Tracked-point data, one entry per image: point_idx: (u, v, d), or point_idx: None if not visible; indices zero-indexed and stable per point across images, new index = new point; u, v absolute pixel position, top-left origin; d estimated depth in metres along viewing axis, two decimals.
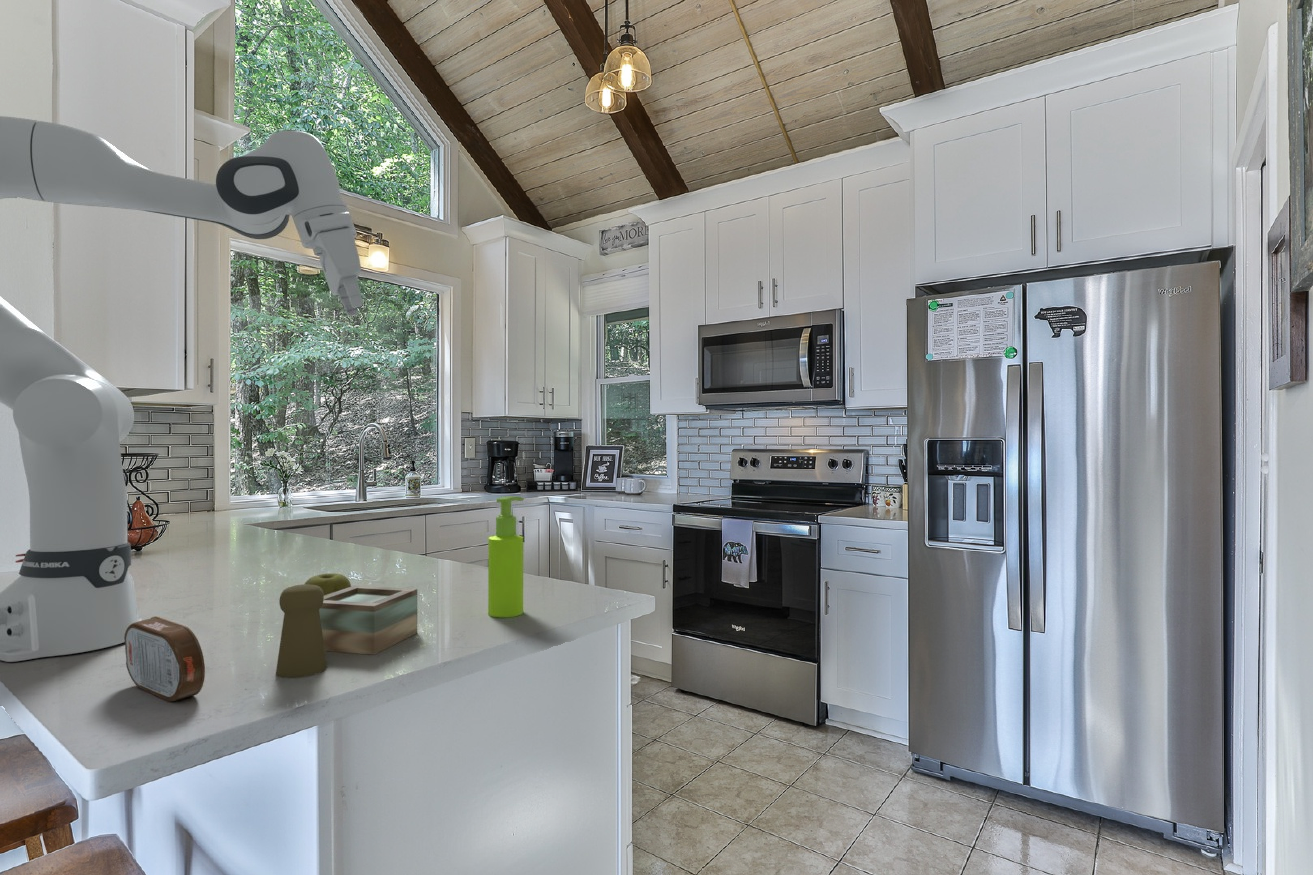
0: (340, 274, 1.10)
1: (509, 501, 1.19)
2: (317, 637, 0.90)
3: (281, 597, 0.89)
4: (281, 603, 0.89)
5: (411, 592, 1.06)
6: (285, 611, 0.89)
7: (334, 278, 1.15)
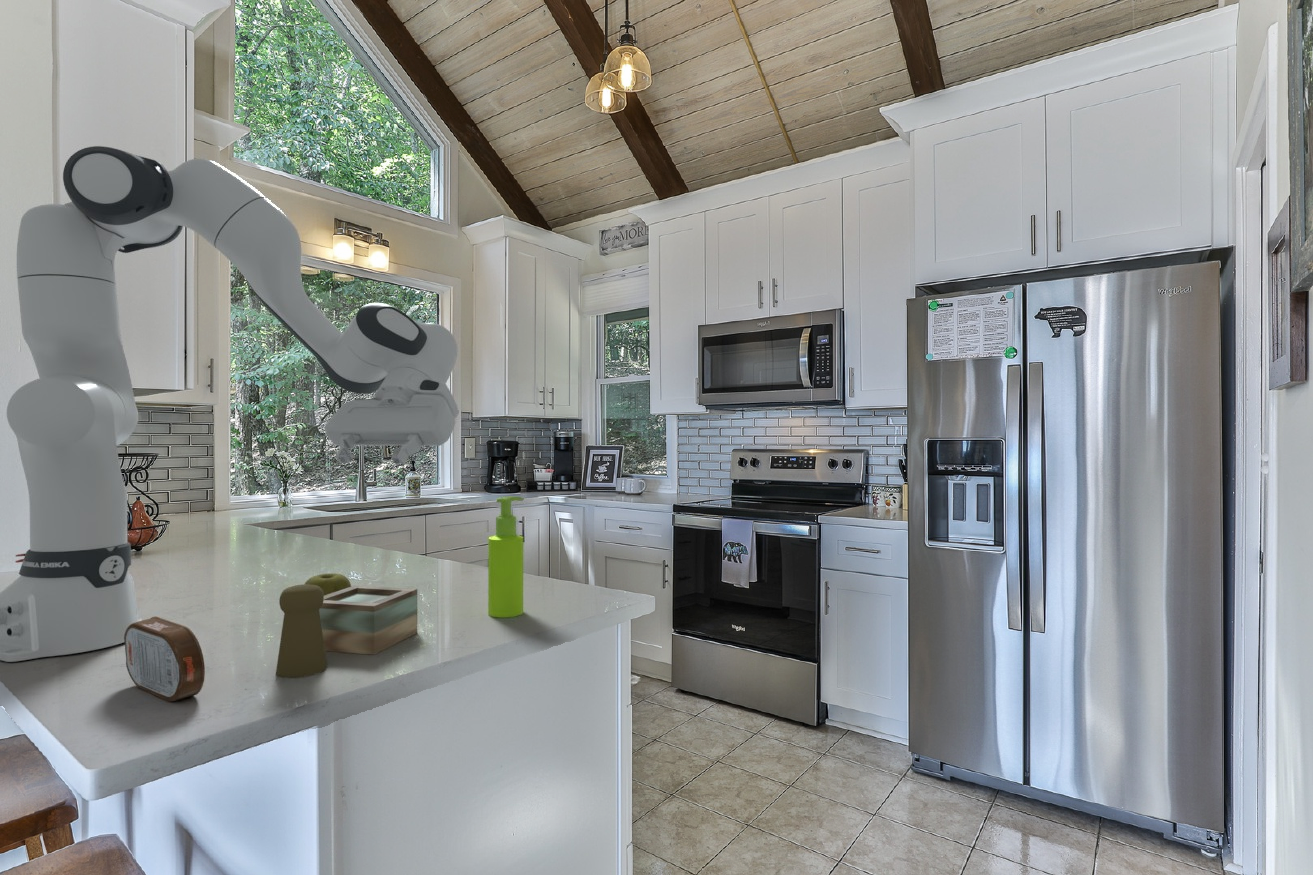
0: (433, 431, 1.05)
1: (509, 501, 1.19)
2: (317, 637, 0.90)
3: (281, 597, 0.89)
4: (281, 603, 0.89)
5: (411, 592, 1.06)
6: (285, 611, 0.89)
7: (397, 426, 1.06)
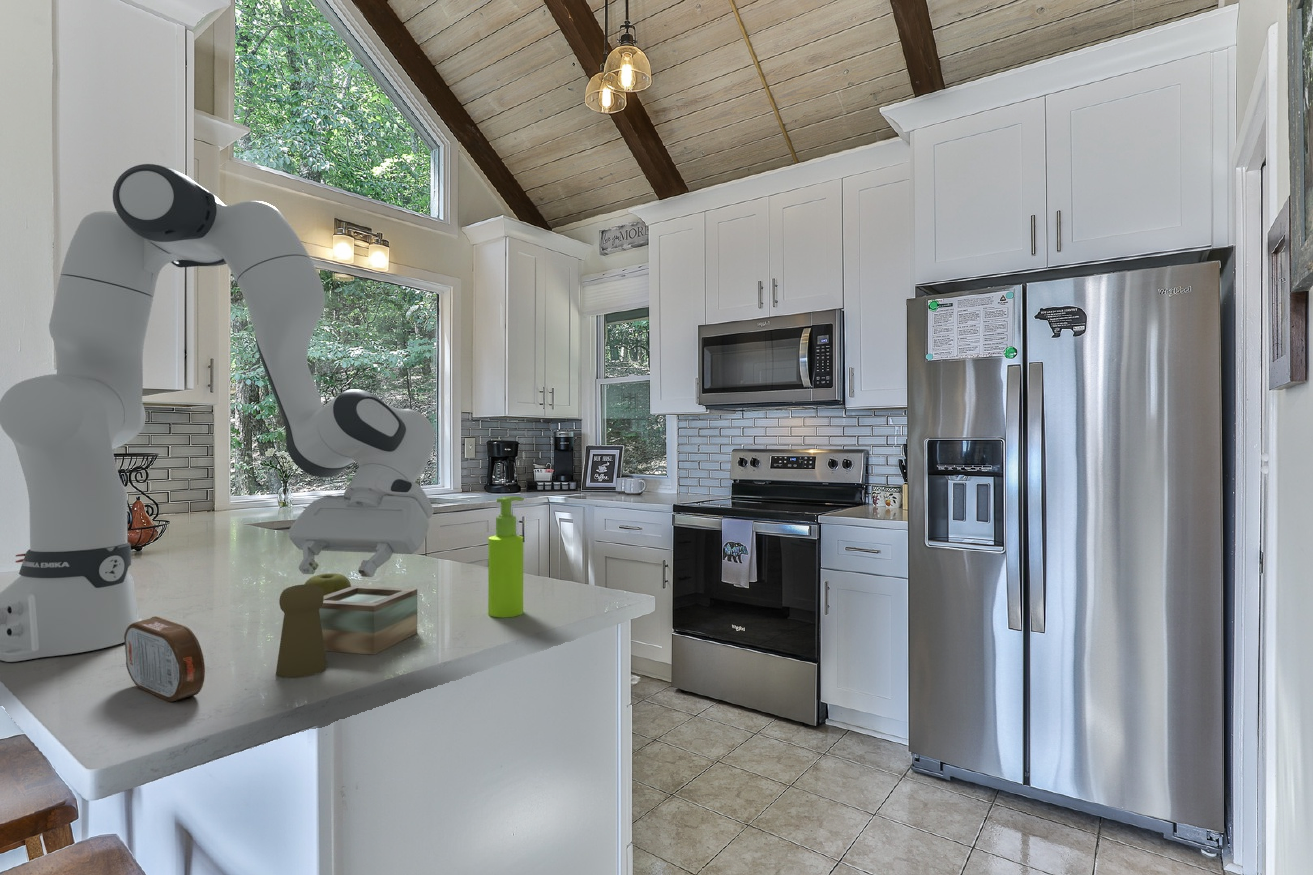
0: (404, 540, 0.97)
1: (509, 501, 1.19)
2: (317, 637, 0.90)
3: (281, 597, 0.89)
4: (281, 603, 0.89)
5: (411, 592, 1.06)
6: (285, 611, 0.89)
7: (366, 534, 0.99)
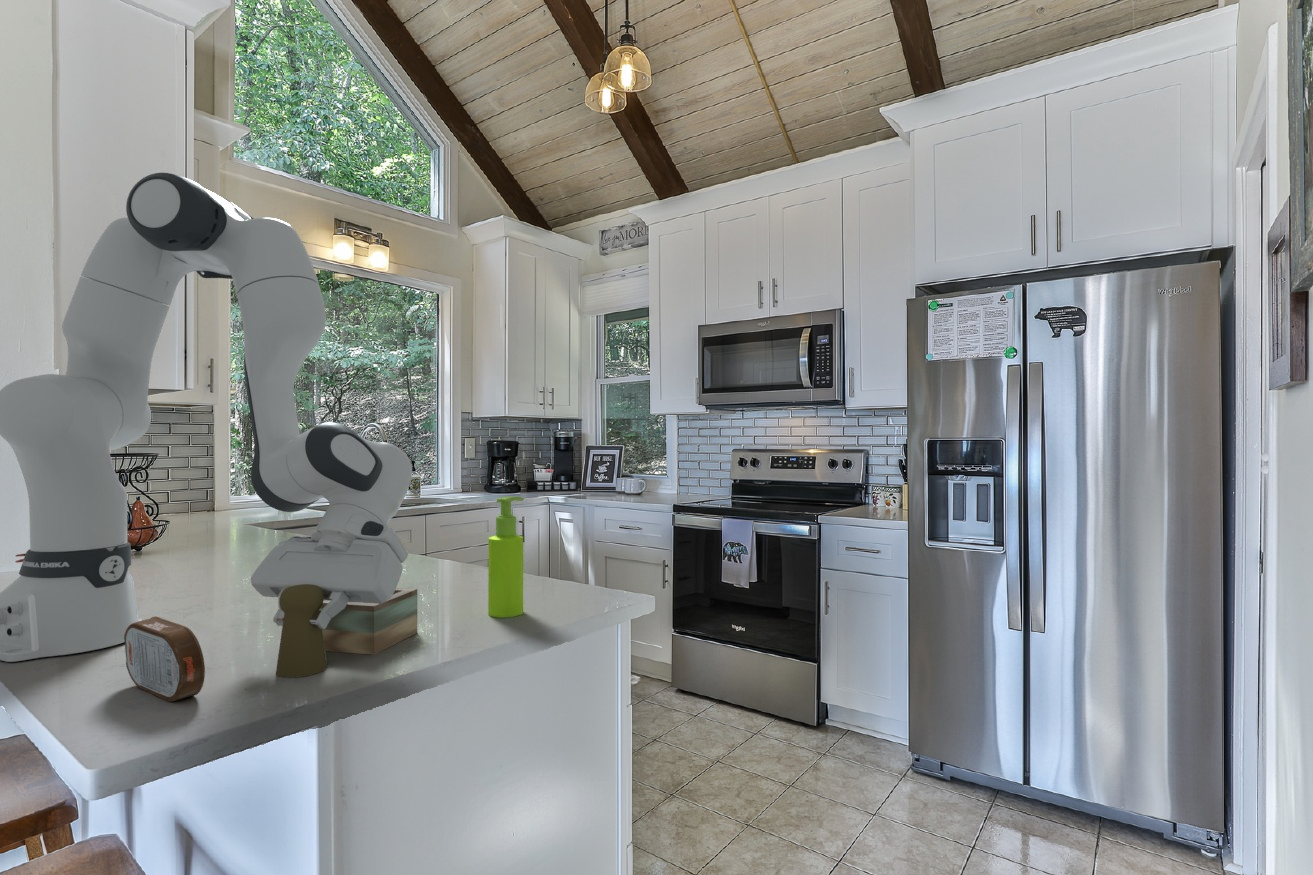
0: (373, 590, 0.90)
1: (509, 501, 1.19)
2: (317, 637, 0.90)
3: (281, 597, 0.89)
4: (281, 603, 0.89)
5: (411, 592, 1.06)
6: (285, 611, 0.89)
7: (333, 582, 0.92)
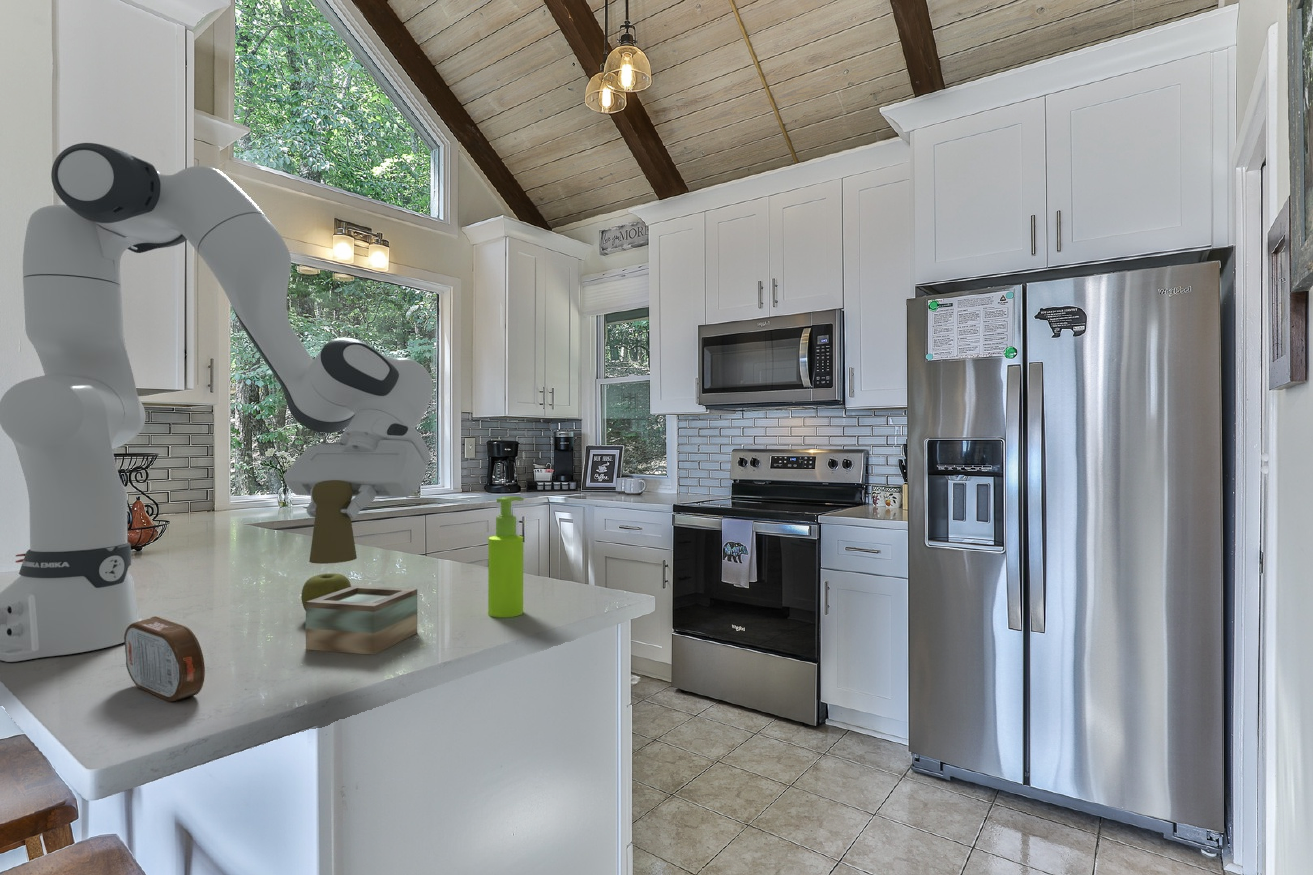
0: (399, 482, 0.96)
1: (509, 501, 1.19)
2: (347, 528, 0.96)
3: (313, 489, 0.95)
4: (313, 495, 0.94)
5: (411, 592, 1.06)
6: (317, 502, 0.94)
7: (361, 476, 0.98)
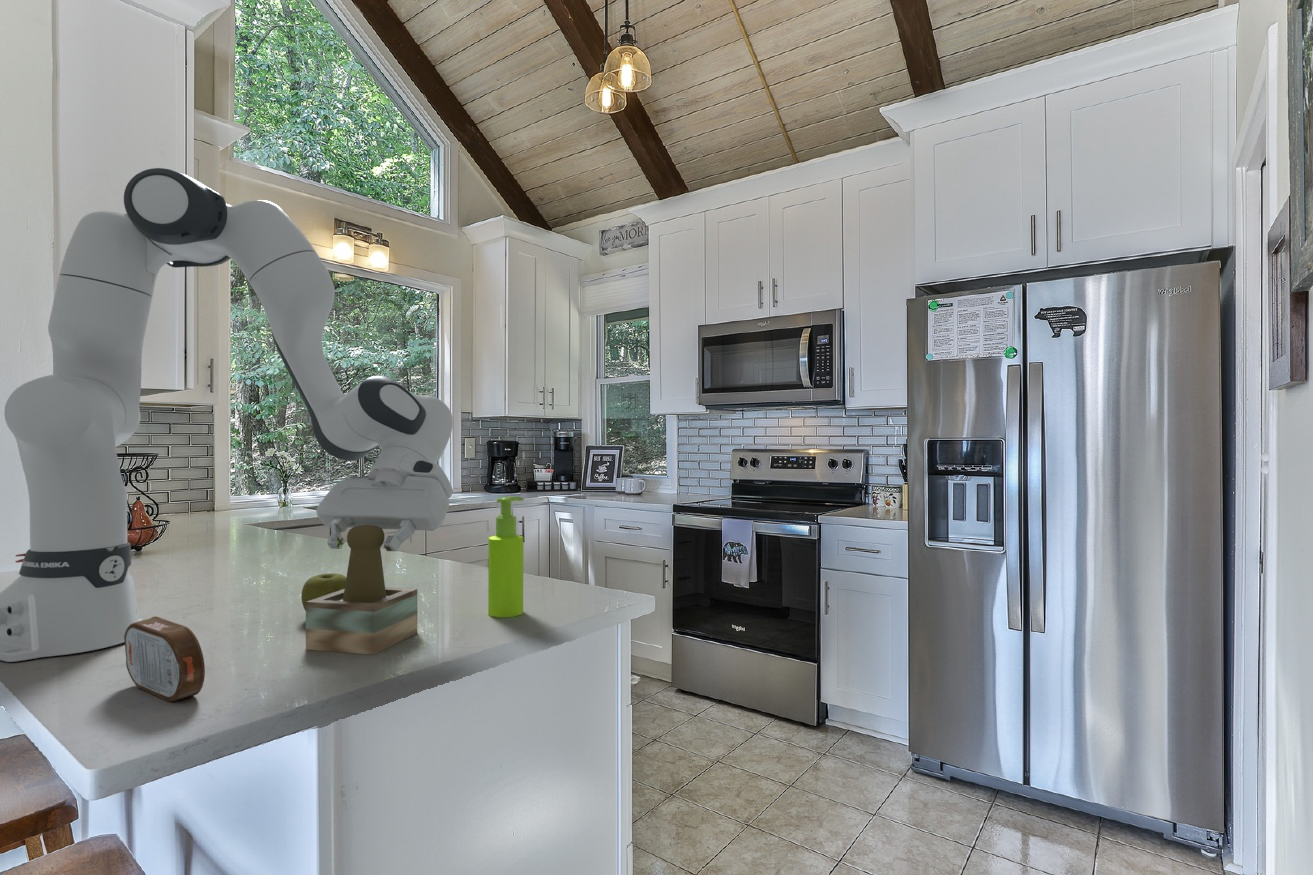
0: (426, 517, 1.03)
1: (509, 501, 1.19)
2: (379, 571, 1.03)
3: (349, 535, 1.02)
4: (349, 540, 1.01)
5: (411, 592, 1.06)
6: (352, 547, 1.01)
7: (390, 511, 1.05)
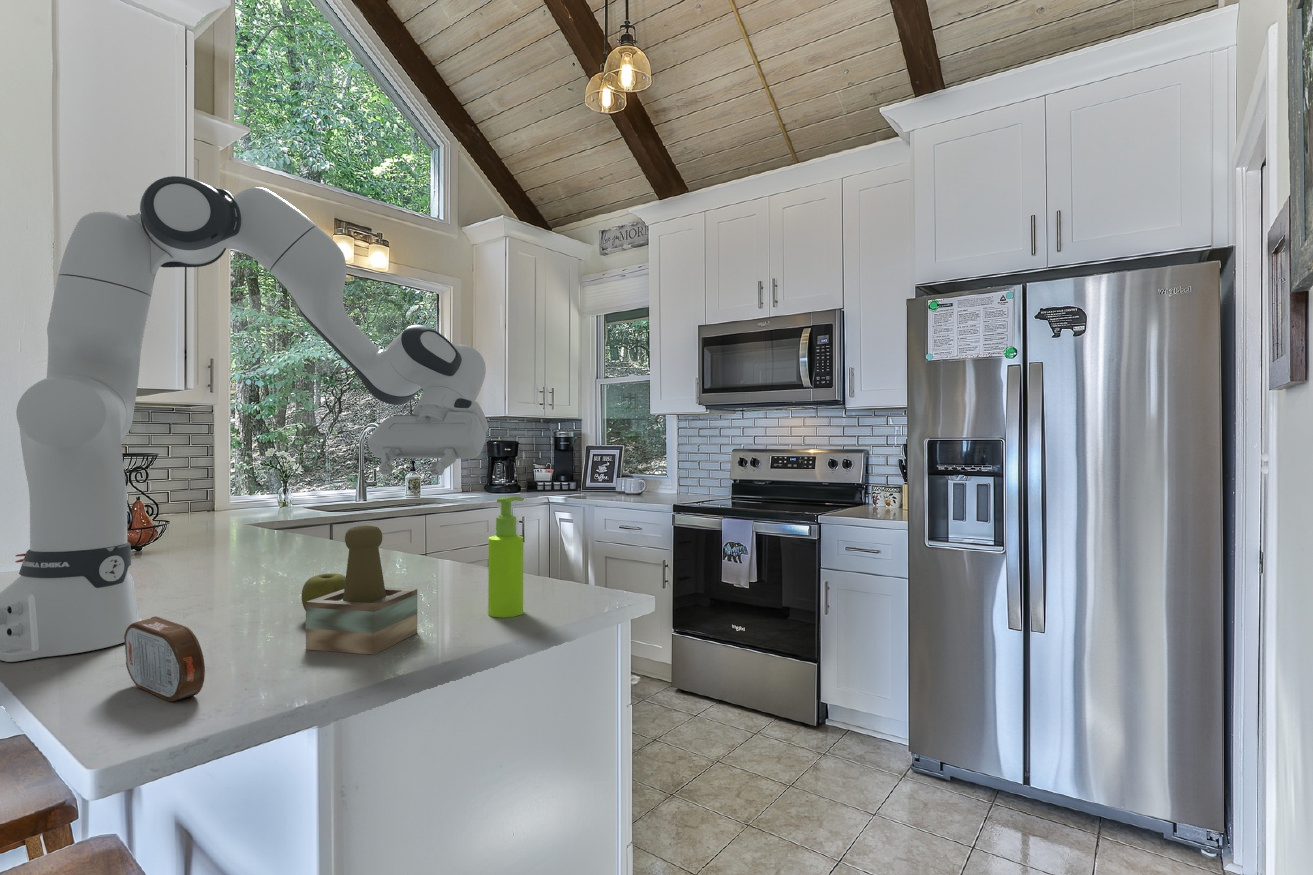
0: (467, 445, 1.16)
1: (509, 501, 1.19)
2: (378, 571, 1.03)
3: (346, 535, 1.02)
4: (347, 540, 1.02)
5: (411, 592, 1.06)
6: (350, 547, 1.02)
7: (435, 441, 1.17)
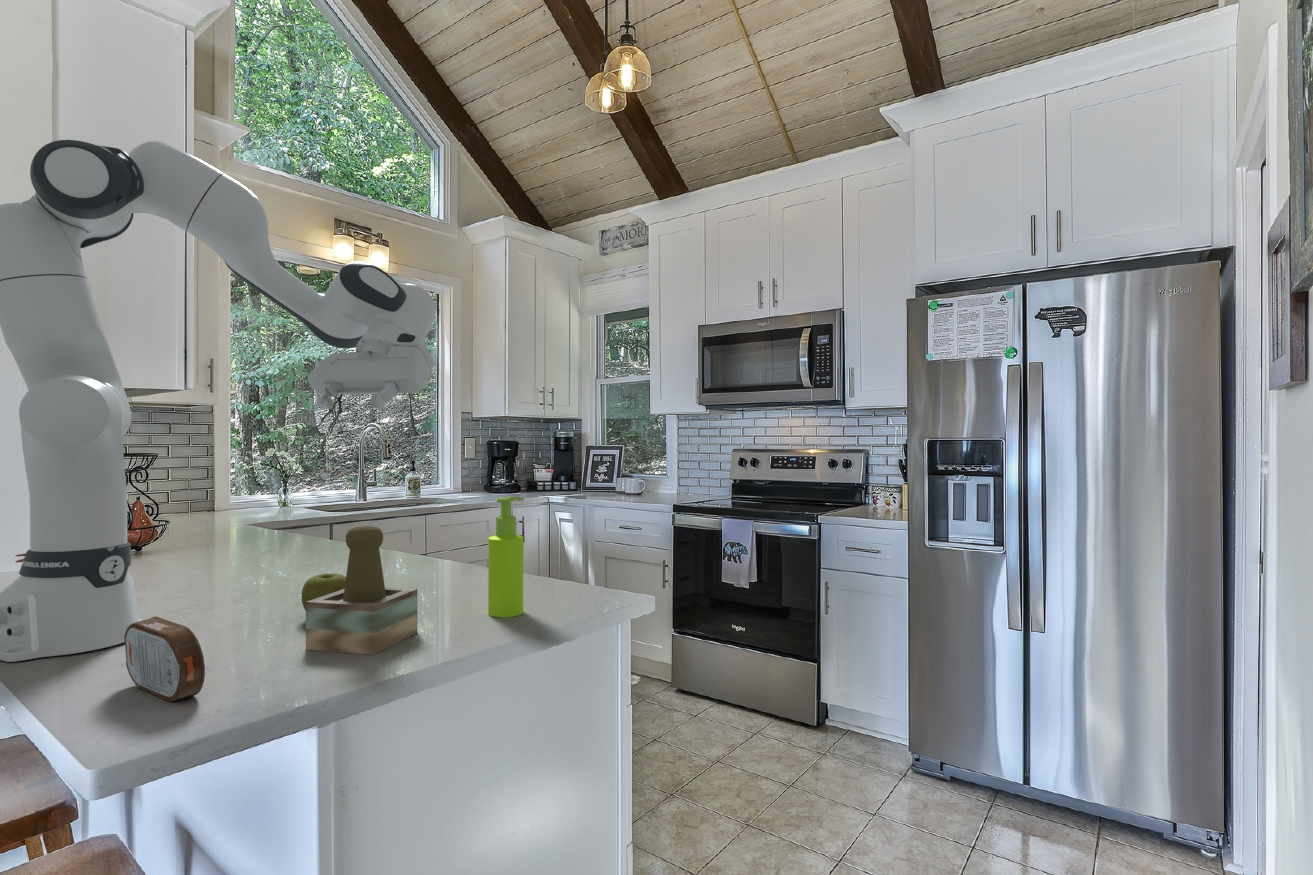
0: (408, 378, 1.13)
1: (509, 501, 1.19)
2: (378, 571, 1.03)
3: (347, 535, 1.02)
4: (348, 540, 1.02)
5: (411, 592, 1.06)
6: (351, 547, 1.02)
7: (375, 374, 1.14)
